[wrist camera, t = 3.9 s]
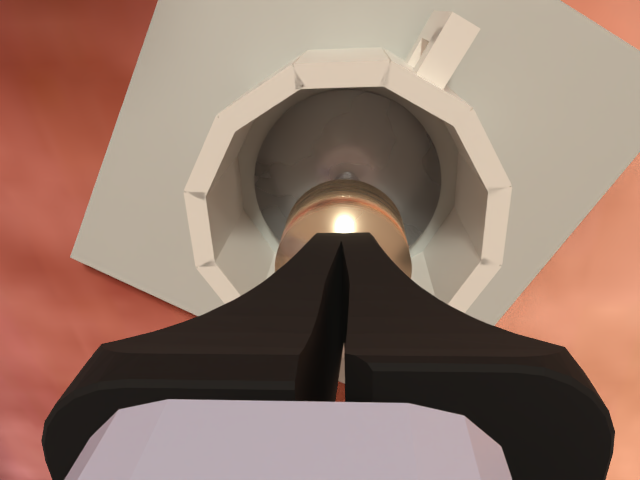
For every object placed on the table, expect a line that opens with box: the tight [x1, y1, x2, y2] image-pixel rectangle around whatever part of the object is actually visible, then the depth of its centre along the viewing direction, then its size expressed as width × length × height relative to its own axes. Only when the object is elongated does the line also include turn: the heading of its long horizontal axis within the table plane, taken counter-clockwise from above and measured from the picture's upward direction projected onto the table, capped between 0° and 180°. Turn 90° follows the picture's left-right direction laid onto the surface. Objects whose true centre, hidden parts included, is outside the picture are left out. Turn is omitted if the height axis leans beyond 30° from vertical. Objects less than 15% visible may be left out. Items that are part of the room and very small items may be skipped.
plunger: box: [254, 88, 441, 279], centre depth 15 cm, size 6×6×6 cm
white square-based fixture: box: [70, 0, 640, 384], centre depth 16 cm, size 16×16×5 cm
